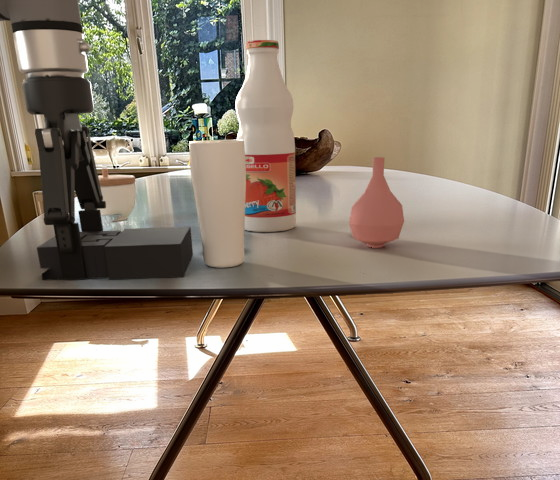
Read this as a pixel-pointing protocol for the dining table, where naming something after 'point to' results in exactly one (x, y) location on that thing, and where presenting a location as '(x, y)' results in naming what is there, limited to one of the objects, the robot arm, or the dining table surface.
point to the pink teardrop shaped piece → (376, 211)
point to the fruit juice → (267, 141)
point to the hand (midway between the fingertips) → (86, 267)
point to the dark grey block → (91, 252)
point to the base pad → (147, 252)
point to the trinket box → (117, 194)
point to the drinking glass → (220, 199)
